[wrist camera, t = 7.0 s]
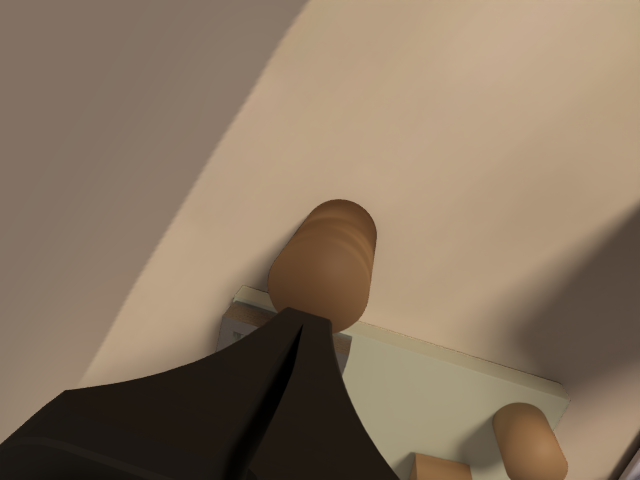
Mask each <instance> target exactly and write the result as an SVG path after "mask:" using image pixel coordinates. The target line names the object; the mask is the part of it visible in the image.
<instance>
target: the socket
mask: <svg viewBox="0 0 640 480" xmlns="http://www.w3.org/2000/svg"><path fill="white" fill-rule="evenodd" d="M277 314H278V313H276V312H272V311H269V310H266V309H263V308H260V307H256V306H253V305H250V304H247V303H244V302H240V301H237V300H235V302H234V303H233V304H232V305H231V307H230V308H229V309H228V310H227V312H226V313H225V314H224V315H223V319H222V324H221V329H220V334H219V340H218V345H217V350H216V352H218V351H220V350H222V349H224V348H226V347H227V346H229V345H231V344H233V343H235V342H236V341H238V340H240V337H241V334H243V335H246V336H247V335H248V334H250V333H251V332H253V331H254V330H256V329H257V328H259V327H260V326H262V325H263V324H265V323H266V322H267V321H269V320H270V319H272V318H273V317H274V316H275V315H277ZM332 336H333V343H334V348H335V353H336V357H337V361H338V365H339V369H340V372H341V375H342V376H343V373H344V370H345V367H346V364H347V360H348V357H349V353H350V348H351V342H352V336H349V335H346V334H343V333H340V332H338V333H334V334H332Z"/></svg>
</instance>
